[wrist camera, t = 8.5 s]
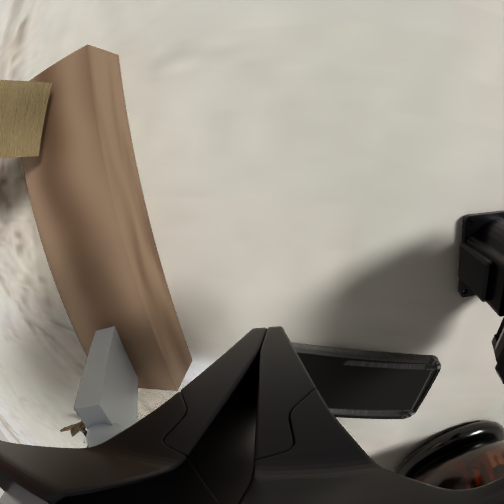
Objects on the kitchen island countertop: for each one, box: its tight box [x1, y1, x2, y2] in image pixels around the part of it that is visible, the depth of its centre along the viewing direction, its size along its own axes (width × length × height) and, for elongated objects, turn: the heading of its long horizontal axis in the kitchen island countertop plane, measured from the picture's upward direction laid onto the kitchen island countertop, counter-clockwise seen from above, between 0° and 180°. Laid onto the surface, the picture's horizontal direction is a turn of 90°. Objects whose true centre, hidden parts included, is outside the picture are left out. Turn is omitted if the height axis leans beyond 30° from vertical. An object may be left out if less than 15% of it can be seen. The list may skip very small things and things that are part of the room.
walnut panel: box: [22, 45, 192, 391], centre depth 21 cm, size 8×26×4 cm, turn 10°
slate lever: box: [74, 326, 138, 447], centre depth 17 cm, size 2×5×10 cm, turn 10°
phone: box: [291, 342, 441, 419], centre depth 25 cm, size 8×1×15 cm
